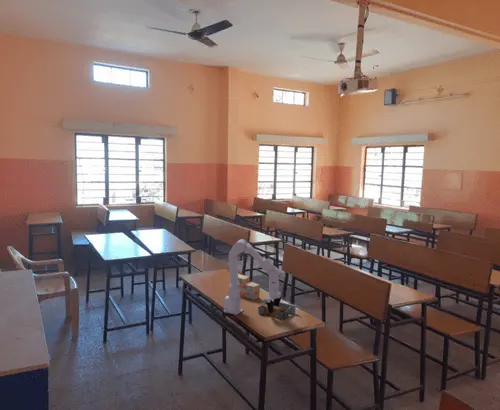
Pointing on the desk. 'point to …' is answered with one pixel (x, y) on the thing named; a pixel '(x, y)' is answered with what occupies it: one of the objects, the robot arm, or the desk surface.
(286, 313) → the cup bracket right
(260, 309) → the cup bracket left
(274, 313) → the rail
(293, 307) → the backboard
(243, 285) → the stack of blocks
